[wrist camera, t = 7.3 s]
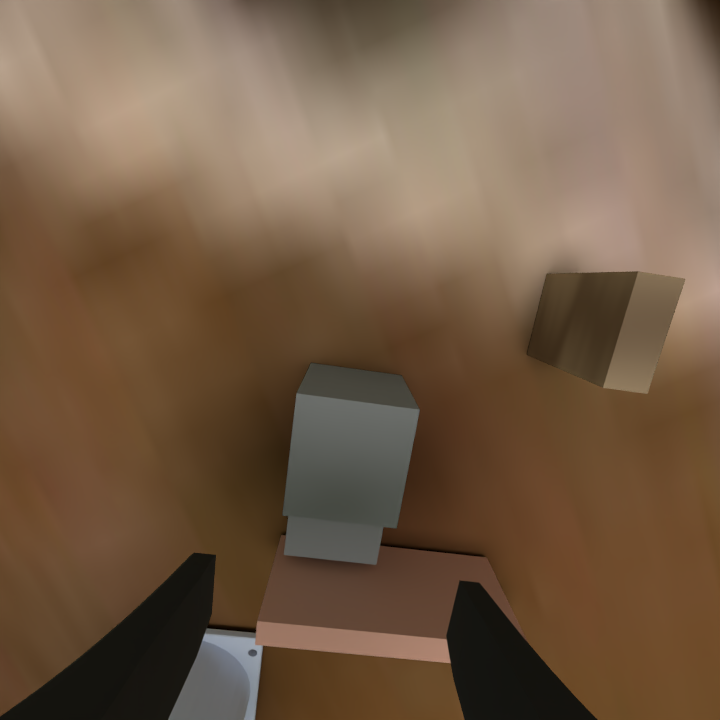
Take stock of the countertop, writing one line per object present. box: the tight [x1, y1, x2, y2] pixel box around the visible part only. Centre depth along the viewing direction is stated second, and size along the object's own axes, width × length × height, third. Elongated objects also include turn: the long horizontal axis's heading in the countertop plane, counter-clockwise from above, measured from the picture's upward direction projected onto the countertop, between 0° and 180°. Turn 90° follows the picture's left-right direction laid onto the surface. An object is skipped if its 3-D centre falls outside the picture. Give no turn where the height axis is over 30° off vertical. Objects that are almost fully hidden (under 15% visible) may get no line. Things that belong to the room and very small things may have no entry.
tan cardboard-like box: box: [510, 272, 685, 607], centre depth 16 cm, size 20×2×6 cm, turn 171°
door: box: [255, 535, 527, 663], centre depth 17 cm, size 11×1×5 cm, turn 82°
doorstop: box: [283, 363, 420, 565], centre depth 16 cm, size 9×4×5 cm, turn 171°
